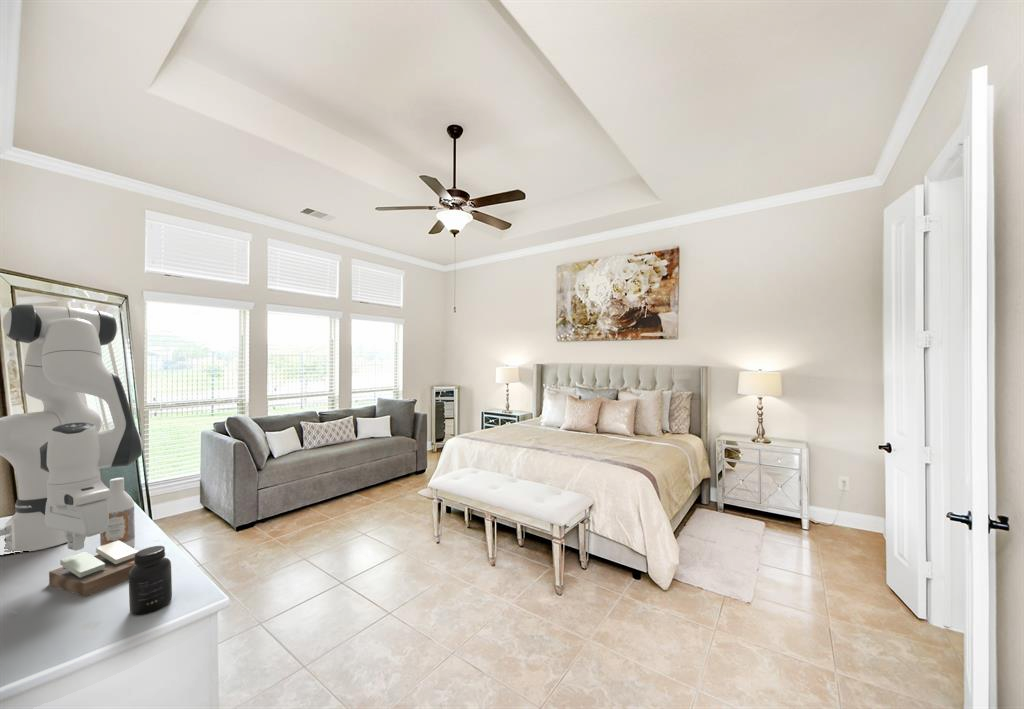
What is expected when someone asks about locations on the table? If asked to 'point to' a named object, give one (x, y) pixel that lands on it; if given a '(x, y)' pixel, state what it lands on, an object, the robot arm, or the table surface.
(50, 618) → the table surface
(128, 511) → the bath foam
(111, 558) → the block
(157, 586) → the supplement bottle
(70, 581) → the switch plate
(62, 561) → the block
